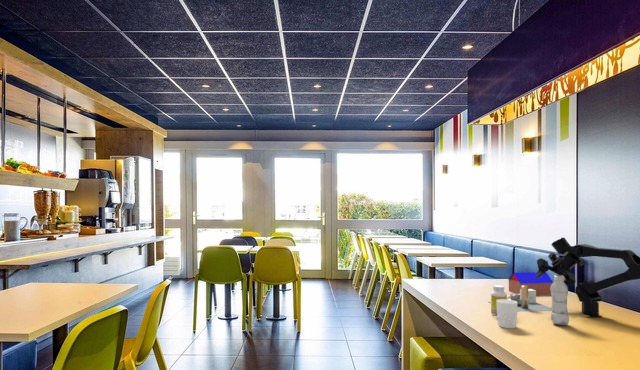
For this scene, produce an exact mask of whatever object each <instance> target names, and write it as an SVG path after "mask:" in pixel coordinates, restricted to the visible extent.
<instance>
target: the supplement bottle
mask: <svg viewBox="0 0 640 370" xmlns="http://www.w3.org/2000/svg"><path fill="white" fill-rule="evenodd" d="M492 287H493V288H492V289H493V290H492V291H491V292H490V302H491V303H490V314H491V315H492V316H494V317H497V303H496V300H498V299H507V297H508V296H507V295H508V294H507V292H506V291H505V286H504V285H497V284H496V285H493V286H492Z"/></svg>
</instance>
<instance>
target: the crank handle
mask: <svg viewBox="0 0 640 370" xmlns="http://www.w3.org/2000/svg"><path fill="white" fill-rule="evenodd" d="M507 299H508V300H514V301H517V305H521V307H522V308H529V307H528V286H524V285H522V286H521V299H520V294H516V293H510V296H507Z"/></svg>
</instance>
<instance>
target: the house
mask: <svg viewBox="0 0 640 370" xmlns="http://www.w3.org/2000/svg"><path fill="white" fill-rule="evenodd" d="M537 272H538V271H535V272H533V271H531V272H513V273H512V274H511V275H510V276H509V278H508V279H507V280H508V291H509V292H510V293H512V294H519V295H520V289H521V286H522V285H524V286H528V289H533V290H536V296H541V295H544V296H545V295H550V296H551V290H550V287H551V285H552V283H553V282H554V281H553V280H552V279H551V277H550V275H549V274H548V271H547V272H545V274H543V275H542V276H540V277H538V278H536V277H535V276H536V274H537Z"/></svg>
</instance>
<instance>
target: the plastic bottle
mask: <svg viewBox="0 0 640 370" xmlns="http://www.w3.org/2000/svg"><path fill="white" fill-rule="evenodd" d="M553 280H554V281H553V283H552V285H551V287H550V290H551V295H550V297H551V303H552V304H551V308H552V311H551V314H550V320H551V322H552V324H554V325H558V326H567V325H568V324H569V322H570V317H569V311H568V294H569V293H568V292H569V287H568V285H566V284H565V283H564V276H562V275H557V274H554V275H553Z"/></svg>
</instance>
